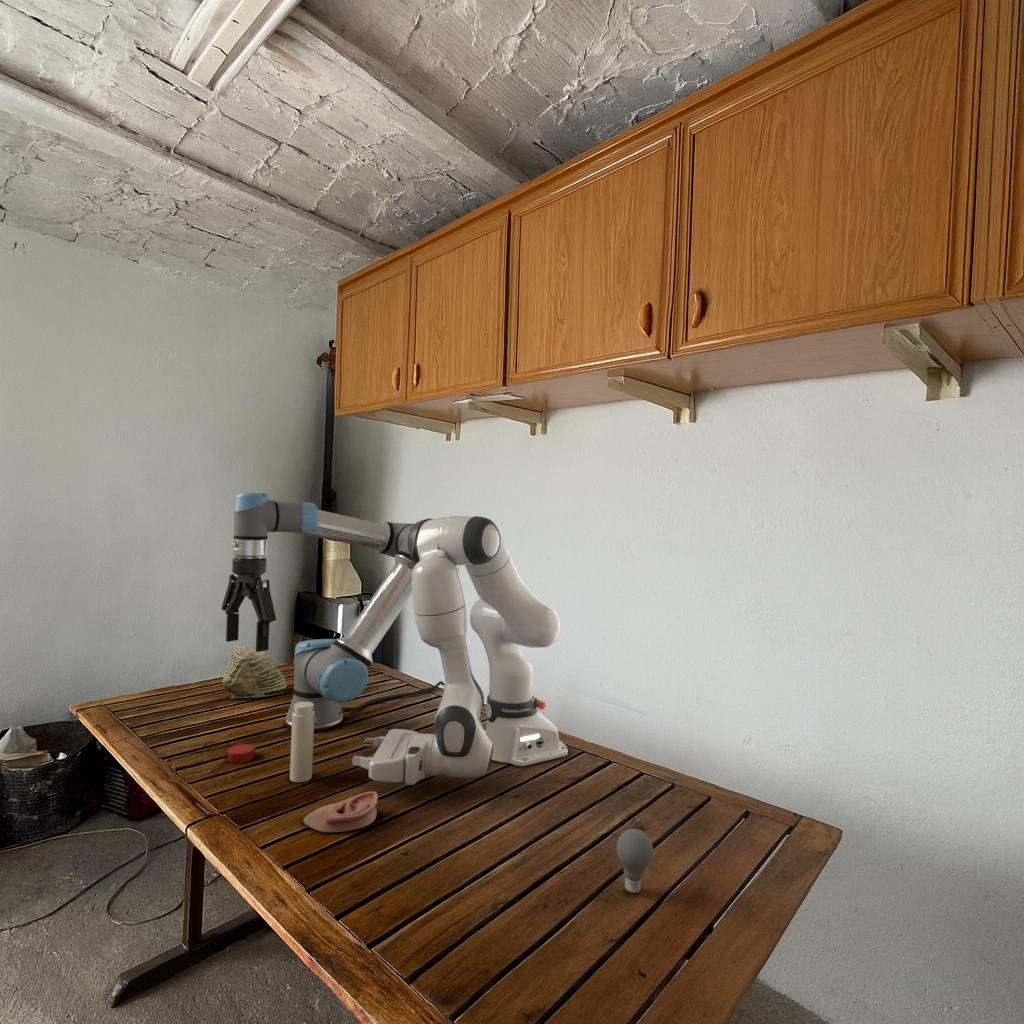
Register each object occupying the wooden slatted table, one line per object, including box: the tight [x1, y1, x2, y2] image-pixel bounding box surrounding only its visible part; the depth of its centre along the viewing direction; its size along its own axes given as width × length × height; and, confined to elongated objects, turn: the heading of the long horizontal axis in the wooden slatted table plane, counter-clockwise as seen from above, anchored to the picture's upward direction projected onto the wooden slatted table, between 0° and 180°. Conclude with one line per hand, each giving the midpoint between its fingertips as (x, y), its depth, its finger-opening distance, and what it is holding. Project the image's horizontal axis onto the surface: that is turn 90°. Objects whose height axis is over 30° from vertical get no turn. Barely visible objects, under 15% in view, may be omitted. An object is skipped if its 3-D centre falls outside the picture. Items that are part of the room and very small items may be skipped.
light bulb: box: [615, 828, 654, 894], centre depth 106 cm, size 6×6×10 cm
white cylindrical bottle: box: [289, 702, 315, 783], centre depth 142 cm, size 5×5×17 cm
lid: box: [226, 743, 256, 764], centre depth 151 cm, size 6×6×2 cm
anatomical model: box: [302, 791, 379, 833], centre depth 125 cm, size 13×4×12 cm
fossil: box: [222, 646, 288, 699], centre depth 198 cm, size 9×18×15 cm, turn 132°
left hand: (246, 645), depth 151 cm, fingers open, 13 cm apart
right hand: (359, 751), depth 142 cm, fingers open, 8 cm apart
